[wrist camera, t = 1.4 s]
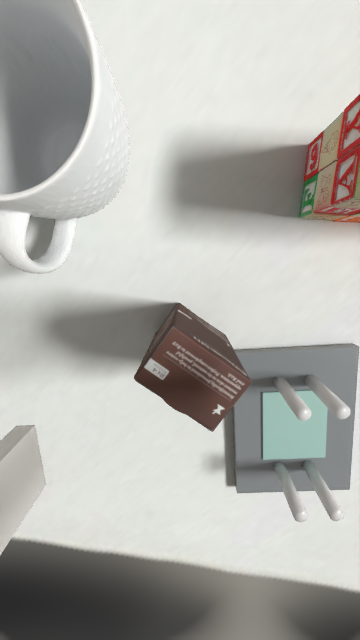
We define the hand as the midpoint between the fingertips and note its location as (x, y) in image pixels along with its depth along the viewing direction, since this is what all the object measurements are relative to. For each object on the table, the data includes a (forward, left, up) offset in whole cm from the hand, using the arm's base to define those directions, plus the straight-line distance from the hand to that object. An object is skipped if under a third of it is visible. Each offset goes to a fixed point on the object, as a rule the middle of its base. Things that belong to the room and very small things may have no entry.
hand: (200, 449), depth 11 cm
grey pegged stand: (+10, -10, -18) cm, 23 cm away
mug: (-9, +15, -18) cm, 25 cm away
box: (0, 0, -18) cm, 18 cm away
